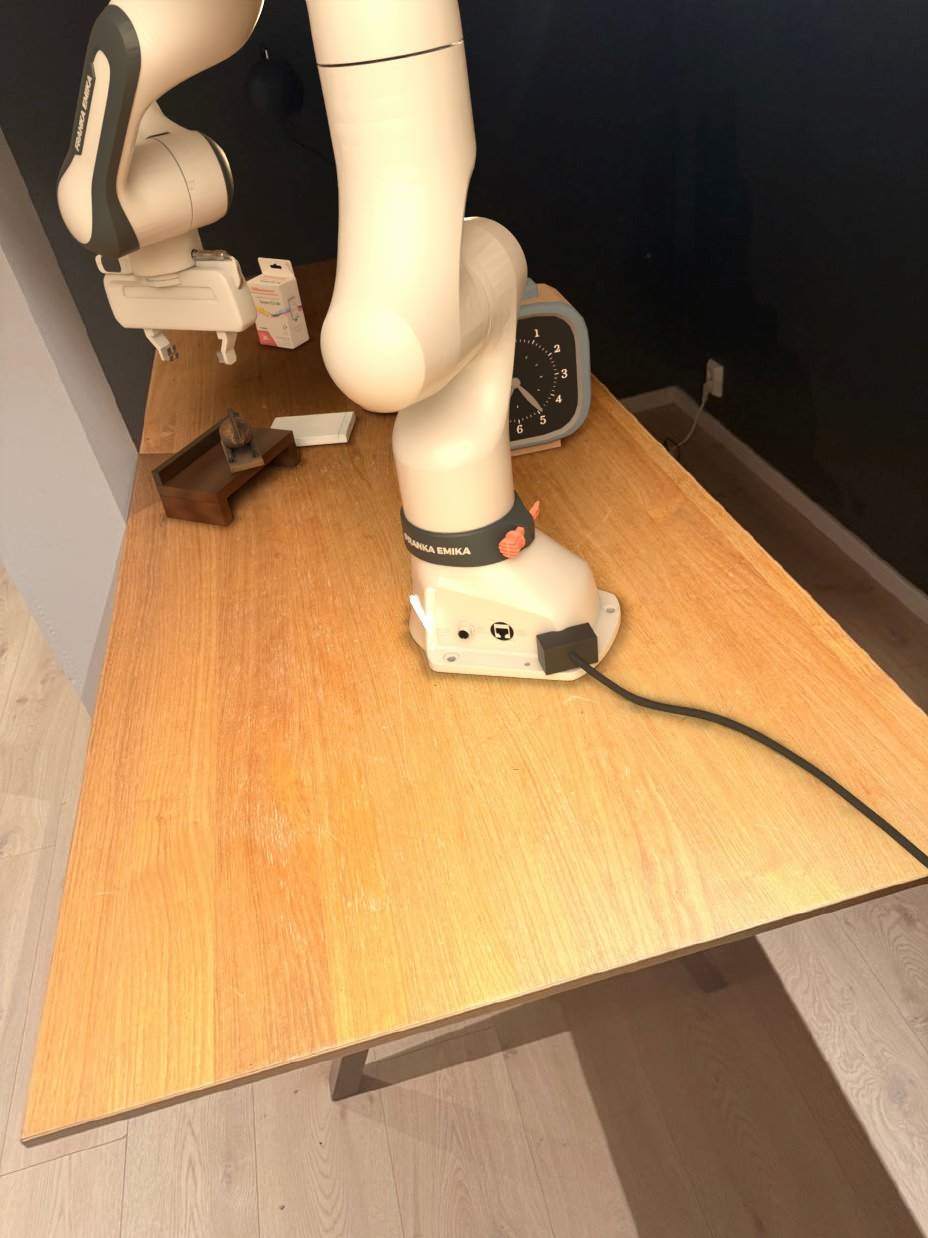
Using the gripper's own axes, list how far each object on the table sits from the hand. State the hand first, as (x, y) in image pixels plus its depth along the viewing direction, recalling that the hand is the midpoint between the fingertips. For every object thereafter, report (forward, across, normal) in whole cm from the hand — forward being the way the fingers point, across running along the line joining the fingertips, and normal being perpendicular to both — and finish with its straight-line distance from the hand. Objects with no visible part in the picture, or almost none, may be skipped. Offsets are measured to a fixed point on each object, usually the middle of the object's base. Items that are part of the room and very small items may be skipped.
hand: (199, 361), depth 121 cm
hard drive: (+19, -1, -17) cm, 26 cm away
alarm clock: (+19, -33, -21) cm, 43 cm away
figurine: (+14, -3, 0) cm, 14 cm away
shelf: (+19, 0, 0) cm, 19 cm away
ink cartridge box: (+18, +26, -50) cm, 59 cm away
